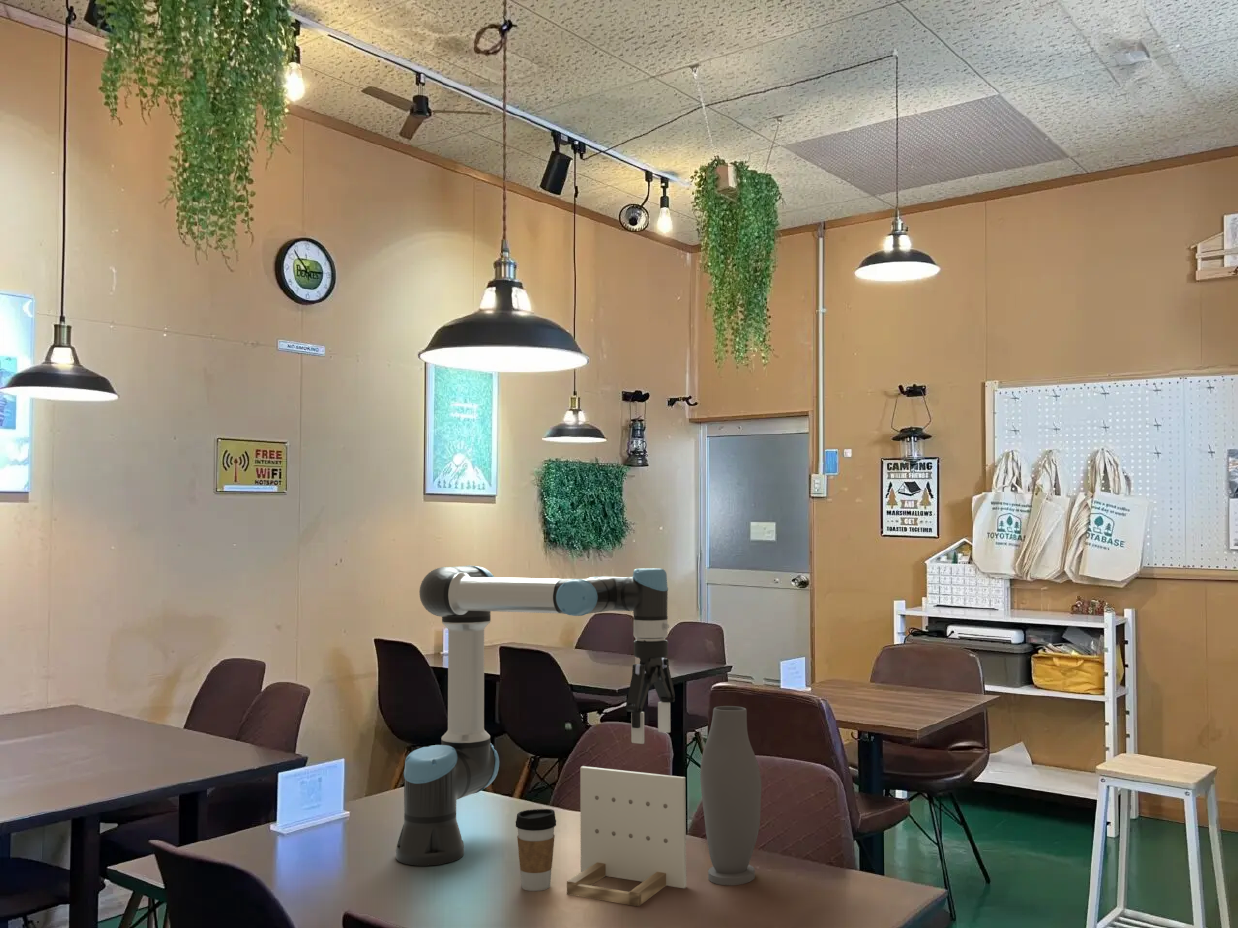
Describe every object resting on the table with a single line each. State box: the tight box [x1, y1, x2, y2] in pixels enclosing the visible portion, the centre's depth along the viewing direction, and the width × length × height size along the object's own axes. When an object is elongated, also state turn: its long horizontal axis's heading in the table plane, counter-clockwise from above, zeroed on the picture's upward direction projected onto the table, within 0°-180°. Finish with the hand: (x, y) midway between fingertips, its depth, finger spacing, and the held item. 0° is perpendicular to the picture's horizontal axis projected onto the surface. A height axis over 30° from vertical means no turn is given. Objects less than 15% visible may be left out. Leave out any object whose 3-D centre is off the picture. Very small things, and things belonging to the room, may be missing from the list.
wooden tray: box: [566, 863, 667, 907], centre depth 208 cm, size 16×13×2 cm
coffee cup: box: [515, 808, 557, 892], centre depth 211 cm, size 8×8×15 cm
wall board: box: [579, 765, 687, 889], centre depth 215 cm, size 24×1×22 cm, turn 64°
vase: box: [699, 705, 762, 886], centre depth 217 cm, size 13×13×35 cm
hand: (651, 737), depth 223 cm, fingers open, 13 cm apart
